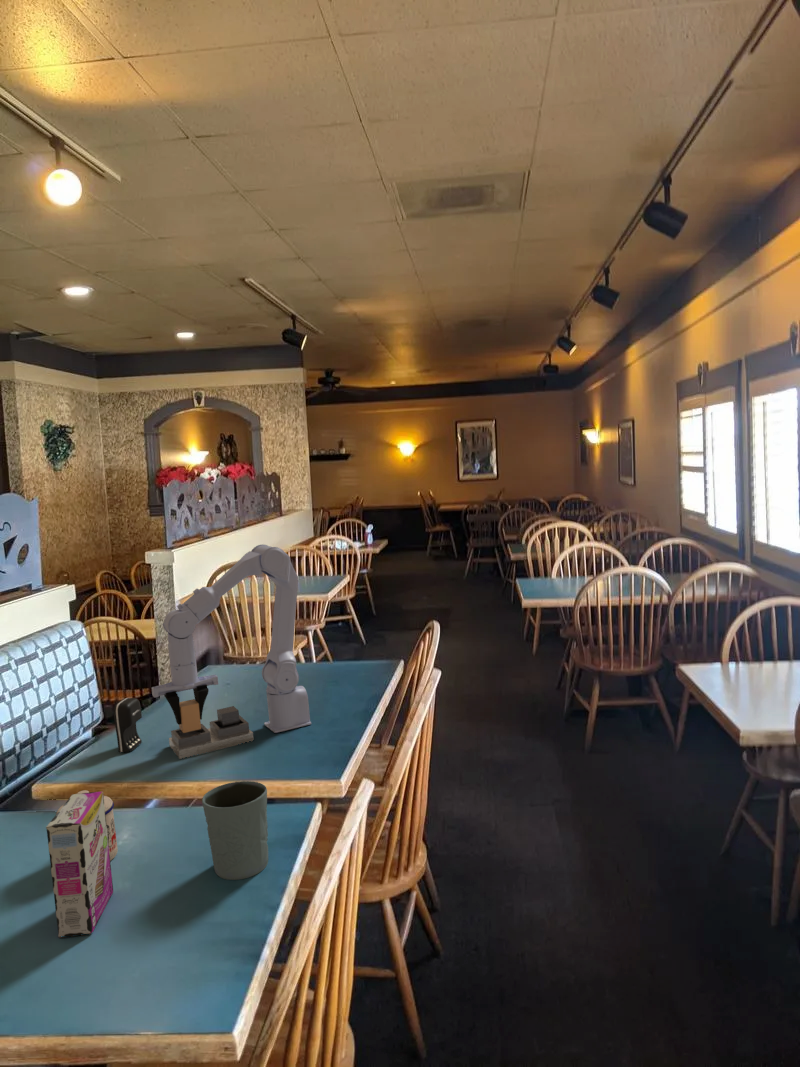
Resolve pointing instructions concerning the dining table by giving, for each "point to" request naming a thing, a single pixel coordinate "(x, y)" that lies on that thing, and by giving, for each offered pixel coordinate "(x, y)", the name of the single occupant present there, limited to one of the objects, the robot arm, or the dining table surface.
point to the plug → (189, 716)
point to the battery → (127, 724)
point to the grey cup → (237, 828)
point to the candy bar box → (80, 863)
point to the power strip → (212, 735)
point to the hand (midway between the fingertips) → (189, 721)
